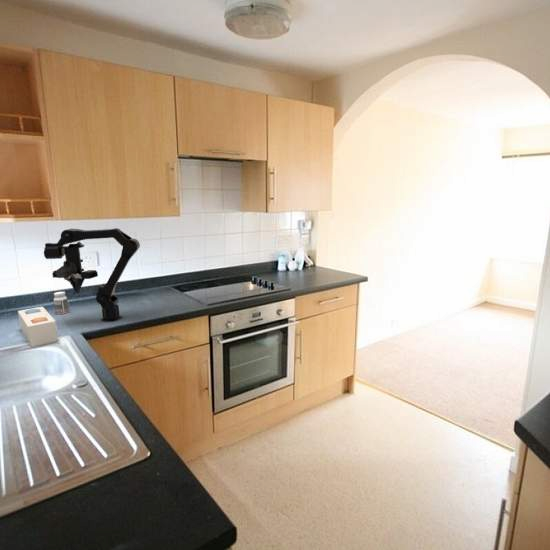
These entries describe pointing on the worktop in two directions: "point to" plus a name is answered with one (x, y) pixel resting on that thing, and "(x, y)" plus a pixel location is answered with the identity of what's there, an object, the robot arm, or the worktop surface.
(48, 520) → the worktop surface
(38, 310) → the slate button
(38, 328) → the white slotted box
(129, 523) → the worktop surface
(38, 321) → the terracotta button
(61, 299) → the pill bottle
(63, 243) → the robot arm
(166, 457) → the worktop surface
